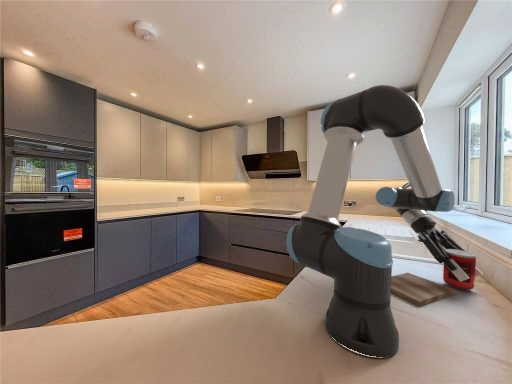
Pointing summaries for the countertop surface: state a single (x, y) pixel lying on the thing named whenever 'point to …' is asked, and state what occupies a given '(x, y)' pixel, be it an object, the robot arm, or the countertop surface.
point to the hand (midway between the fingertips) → (471, 277)
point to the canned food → (465, 263)
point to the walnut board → (418, 289)
